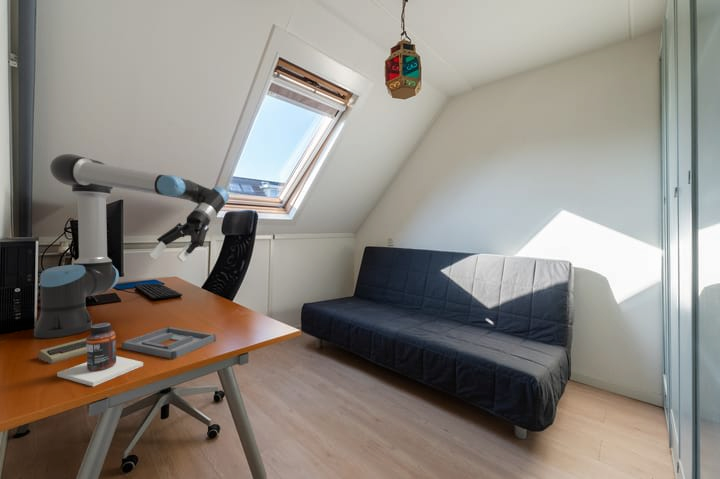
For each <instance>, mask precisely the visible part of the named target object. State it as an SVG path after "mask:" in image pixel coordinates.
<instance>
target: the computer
mask: <svg viewBox="0 0 720 479" xmlns="http://www.w3.org/2000/svg"><path fill="white" fill-rule="evenodd" d="M86 339H87V337H86V338H82V339H79V340H74V341H70V342H67V343H61V344H59V345H56V346H55V345H54V346H52V347H46V348H44V349H39V350H38V356H37V357H38V358H39V359H38V358H37V359H38V360H40V359H41V360H40V361H42V360H43V361H42V362H46V363H47V362H48V364H49V365H53V364H57V363H60V362H63V361H67V360H69V359H73V358H76V357H80V356H83V355H87V344H86V343H87V341H86Z"/></svg>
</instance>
